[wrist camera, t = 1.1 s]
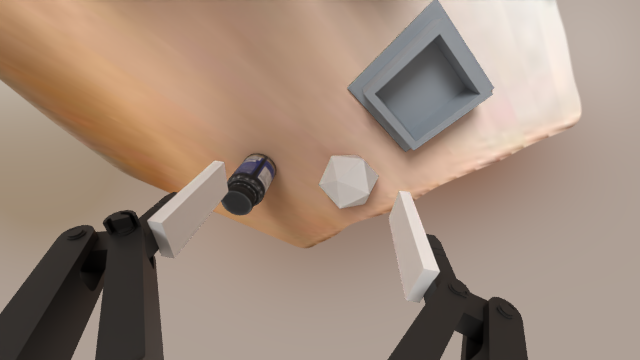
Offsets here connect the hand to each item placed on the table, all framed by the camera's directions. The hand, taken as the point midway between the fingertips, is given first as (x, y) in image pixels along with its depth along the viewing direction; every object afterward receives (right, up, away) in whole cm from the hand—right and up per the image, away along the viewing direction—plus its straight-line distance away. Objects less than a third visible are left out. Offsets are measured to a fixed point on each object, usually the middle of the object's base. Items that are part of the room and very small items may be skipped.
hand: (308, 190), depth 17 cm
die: (+6, +3, +24) cm, 24 cm away
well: (+15, +14, +15) cm, 25 cm away
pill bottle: (-10, +3, +26) cm, 28 cm away
